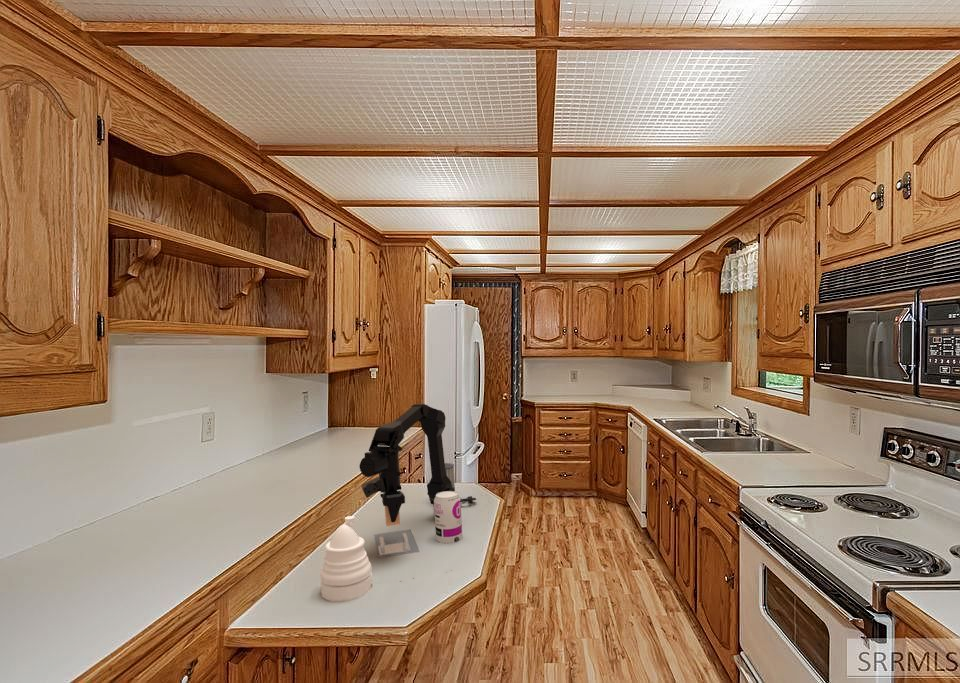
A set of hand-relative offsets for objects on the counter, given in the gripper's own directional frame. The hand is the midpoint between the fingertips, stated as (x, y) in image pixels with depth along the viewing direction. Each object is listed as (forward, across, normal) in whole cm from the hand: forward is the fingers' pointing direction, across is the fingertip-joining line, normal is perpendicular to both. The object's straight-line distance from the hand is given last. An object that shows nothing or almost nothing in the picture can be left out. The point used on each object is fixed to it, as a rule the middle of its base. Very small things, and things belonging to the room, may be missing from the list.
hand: (392, 520), depth 156 cm
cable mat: (+10, -5, +1) cm, 11 cm away
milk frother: (+10, -40, +27) cm, 49 cm away
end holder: (+9, 0, 0) cm, 9 cm away
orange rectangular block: (+1, 0, 0) cm, 1 cm away
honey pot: (+10, +18, -14) cm, 25 cm away
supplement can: (+10, -2, +17) cm, 20 cm away
